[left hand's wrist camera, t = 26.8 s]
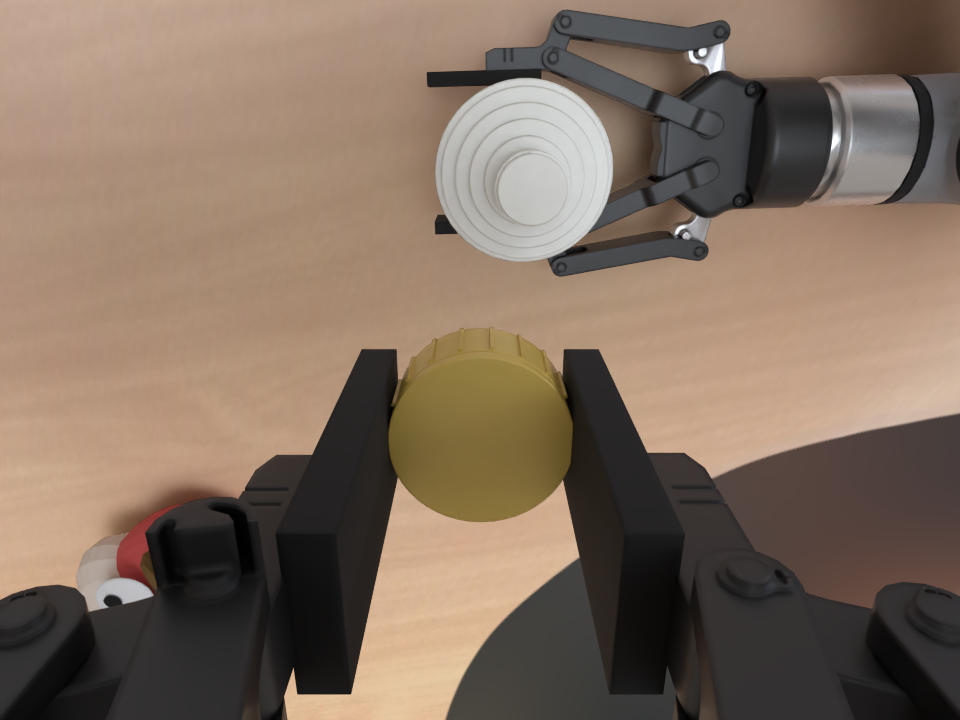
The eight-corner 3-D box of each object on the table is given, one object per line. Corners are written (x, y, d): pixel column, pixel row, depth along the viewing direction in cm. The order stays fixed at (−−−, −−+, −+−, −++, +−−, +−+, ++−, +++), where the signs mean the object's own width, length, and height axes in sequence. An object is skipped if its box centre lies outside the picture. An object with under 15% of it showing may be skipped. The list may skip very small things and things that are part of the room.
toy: (-81, 707, 55) (124, 541, 45) (-1, 607, 64) (186, 449, 53) (109, 800, 62) (325, 675, 51) (158, 698, 70) (351, 573, 60)
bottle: (557, 205, 48) (625, 300, 25) (450, 198, 47) (421, 289, 25) (569, 89, 45) (657, 80, 22) (455, 82, 45) (427, 65, 22)
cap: (601, 377, 14) (616, 412, 13) (510, 506, 16) (513, 553, 14) (448, 292, 14) (444, 318, 12) (366, 434, 15) (352, 475, 13)
